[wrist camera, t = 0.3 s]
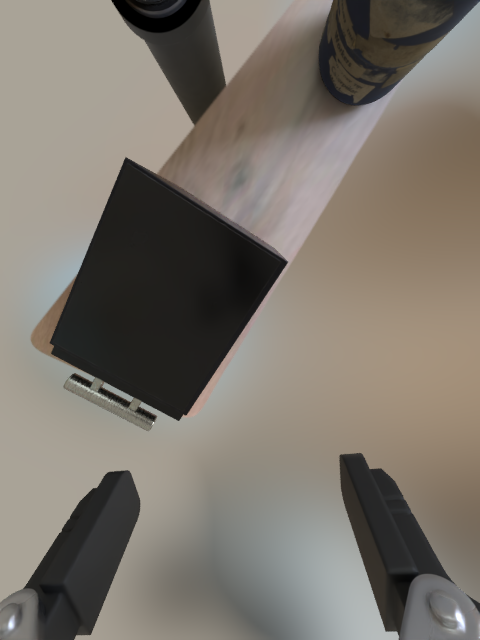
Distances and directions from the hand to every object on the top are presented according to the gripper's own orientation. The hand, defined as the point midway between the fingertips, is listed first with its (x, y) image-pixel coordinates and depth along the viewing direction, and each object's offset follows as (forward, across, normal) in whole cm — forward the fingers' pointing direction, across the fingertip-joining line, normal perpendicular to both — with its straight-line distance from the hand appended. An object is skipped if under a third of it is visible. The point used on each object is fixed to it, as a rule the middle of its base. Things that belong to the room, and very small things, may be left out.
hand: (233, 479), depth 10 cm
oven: (+30, +6, -4) cm, 31 cm away
